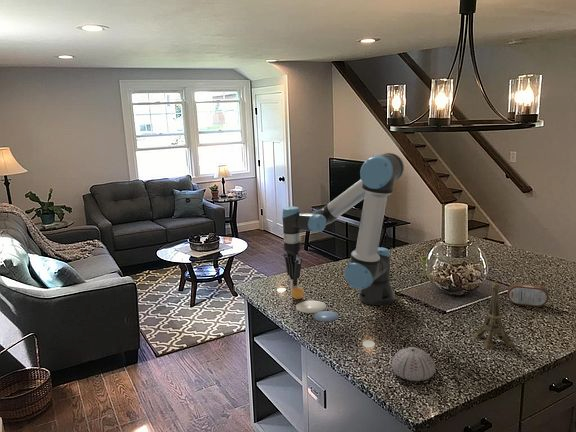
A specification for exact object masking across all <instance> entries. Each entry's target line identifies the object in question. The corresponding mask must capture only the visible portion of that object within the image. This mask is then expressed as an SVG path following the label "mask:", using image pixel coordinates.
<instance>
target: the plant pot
mask: <svg viewBox="0 0 576 432" xmlns="http://www.w3.org/2000/svg"><path fill="white" fill-rule="evenodd" d="M427 256H428V255H426V256H422V257H420V261H421V264H422V270H423V276H424V277H426V274H425V264H426V258H427Z"/></svg>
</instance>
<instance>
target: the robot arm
mask: <svg viewBox="0 0 576 432" xmlns="http://www.w3.org/2000/svg"><path fill="white" fill-rule="evenodd" d="M404 172H405V165H404V162H403V159H401V157H400V155H397V154H396V153H391V152H386V153H383V154H379V155H378V154H377V155H373V156H371V157H370V158H368V159H366V160H365V161H364V162H363V164H362V165H361V167H360V171H359V174H360V175H359V176H360V179H359V180H358V181H357V182H355V183H354V184H352V185H351V186H350V187H348V188H347V189H346V190H345V191H343V192H342V193H340V194H339V195H338V196H336V197H335V198H333V200H331V201H330V202H329V203H327V204H326V205H324V206H322V208H320V209H317V210H315V211H313V212H310V213H309V212H300V211H301V210H300V207H298V206H286V207H284V208H282V227H283V228H282V230H283V236H282V238H283V250H284V252H286V253H284V254H283V256H284V260H285V261H284V262H285V268H286V274H287V276H288V277H289V278H290V280H289V281H290V292H292V290H293V288H295V287H298V279H301V278H300V277H301V270H302V264H303V259H301V258H300V255H299V251H301V250H302V249H301V247H302V244H301V243H302V242H301V240H302V239H301V231H306V232H313V233H322V232H323V231H324V230H325V228H326V226H327V225H331V224H333V223H334V222H335V221H336V220H337V219H338V218H339V217H341V216H342V215H343V214H345V213H347V212H348V211H349V210H350V209H352V208H353V207H354V206H356V205H357V204H358V203H360V202H362V201H363V205H362V211H361V216H360V221H359V228H358V229H359V230H358V235H357V239H356V240H357V241H356V245H355V247H356V248H355V249H354V250H352V251H351V252H350V259H349V263H348V264H347V265H346V267H345V268H344V271H343V275H344V279H345V281H346V282H347V283H348V285H349V286H350V287H352V289H356V290H359V291H358V292H359V293H358V300H359V301H360V302H361V303H363V304H365V305H366V304H367V305H371V306H383V305H389V304H391V303H393V302H394V301H395V293H394V290H393V287H392V284H391V280H390V279H391V264H390V263H391V255H390V250H389V249H388V248H386V247H382V246H381V247H380V246H379V245H380V239H381V234H382V228H383V223H384V217H385V213H386V208H387V207H386V206H387V202H388V201H387V200H388V197H389V196H390V195H392V194H393V192H394V186H395V182H396V181H398V180H399V179H400V178H401V177H402V176H403V174H404Z"/></svg>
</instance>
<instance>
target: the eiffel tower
mask: <svg viewBox="0 0 576 432" xmlns="http://www.w3.org/2000/svg"><path fill="white" fill-rule="evenodd" d="M490 287H492V291H491V292H492V293H491V298H490V304H489V305H490V306H489V309H488V311H486V315H487V316H486V320H485V321H484V322H482V324H483V325H482V326H481V327H480V328H478V330H476V331H475V332H474V333H471V336H472V337H473V338H475V339H482V338H484V334H485V333H486V332H487V334H488V335H487V337H486V339H485V340H484V343H482V344H481V345H482V347H483V348H484V349H486V350H487V349H488V350H490V349H494V348H495V347H494V344H493V339H494V338H493V336H494V335H495V337H502V338H503V340H504V342H503V344H505V345H506V346H507V347H508V348H510V347H517V345H516V344H515V343H514V342H513V340H512V339H511V337H510V336H509V334H508V333H507V331H506V327H505V326H504V325H503V321H502V319H503V315H502V314H501V308H500V298H499V288H501V286H500V284H499V283H498V282H497V278H495V280H494V283H491V285H490Z"/></svg>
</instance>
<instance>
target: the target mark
mask: <svg viewBox="0 0 576 432" xmlns="http://www.w3.org/2000/svg"><path fill="white" fill-rule="evenodd" d="M326 304H327V303H325V302H322V301H319V300H305V301H300V302H298V303H297V304H296V305H295V310H297V311H298V312H301V313H305V314H312V313H313V314H316V313H318V312H321V311H325V310H326V308H327V305H326Z"/></svg>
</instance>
